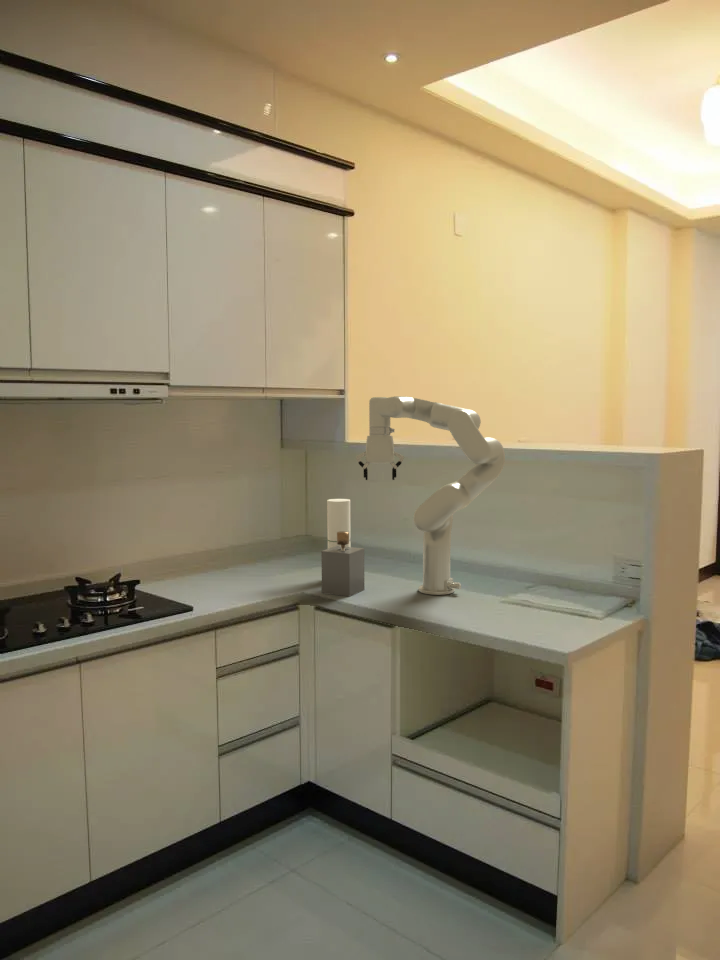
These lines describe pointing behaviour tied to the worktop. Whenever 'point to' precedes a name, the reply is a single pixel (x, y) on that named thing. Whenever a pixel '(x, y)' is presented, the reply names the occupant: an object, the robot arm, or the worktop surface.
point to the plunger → (342, 539)
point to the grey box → (342, 571)
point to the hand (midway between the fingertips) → (379, 479)
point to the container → (337, 520)
